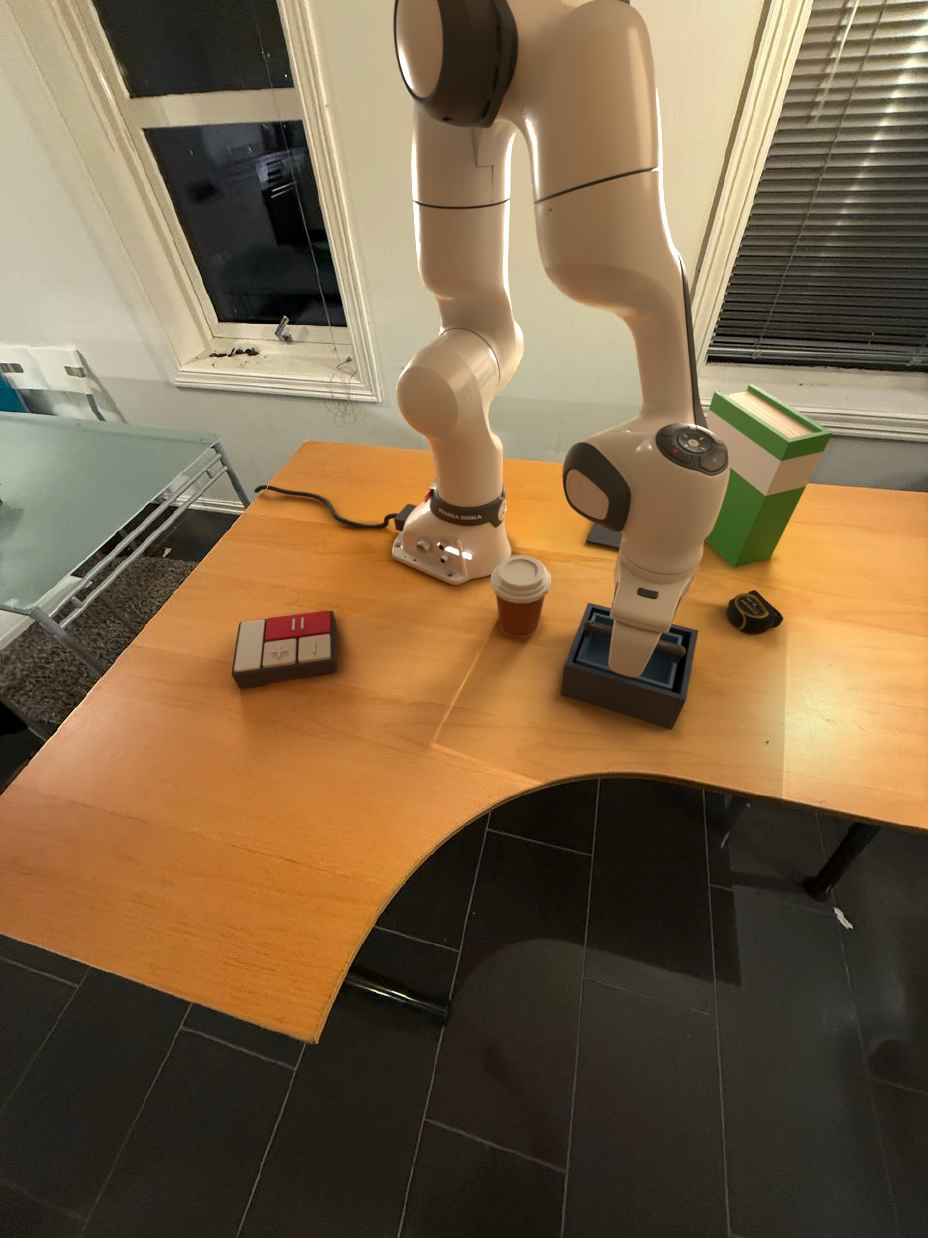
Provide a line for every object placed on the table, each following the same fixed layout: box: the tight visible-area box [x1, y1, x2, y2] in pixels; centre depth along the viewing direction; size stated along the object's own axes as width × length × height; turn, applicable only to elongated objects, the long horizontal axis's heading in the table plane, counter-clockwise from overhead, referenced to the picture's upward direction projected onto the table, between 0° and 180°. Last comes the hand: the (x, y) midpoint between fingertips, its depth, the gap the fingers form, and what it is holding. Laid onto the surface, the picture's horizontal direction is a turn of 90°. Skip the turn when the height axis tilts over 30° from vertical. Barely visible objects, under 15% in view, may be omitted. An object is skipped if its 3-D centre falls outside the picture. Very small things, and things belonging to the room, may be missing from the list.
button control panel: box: [231, 610, 338, 690], centre depth 83 cm, size 11×4×15 cm
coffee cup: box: [490, 554, 552, 638], centre depth 81 cm, size 9×9×12 cm
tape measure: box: [725, 589, 784, 635], centre depth 82 cm, size 7×7×4 cm
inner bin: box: [576, 612, 686, 691], centre depth 73 cm, size 14×10×9 cm
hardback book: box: [704, 383, 834, 569], centre depth 90 cm, size 18×7×24 cm, turn 17°
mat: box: [586, 522, 622, 551], centre depth 100 cm, size 16×12×1 cm
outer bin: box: [559, 602, 699, 731], centre depth 75 cm, size 16×13×8 cm
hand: (631, 642), depth 71 cm, fingers closed on inner bin
